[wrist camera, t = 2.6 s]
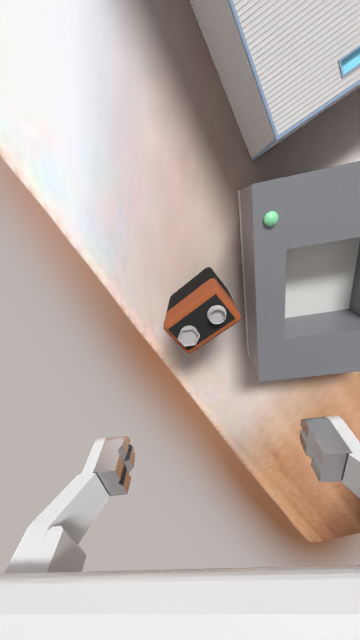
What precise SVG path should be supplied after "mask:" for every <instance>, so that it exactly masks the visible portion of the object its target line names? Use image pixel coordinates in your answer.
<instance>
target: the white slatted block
mask: <svg viewBox="0 0 360 640" xmlns="http://www.w3.org/2000/svg"><path fill="white" fill-rule="evenodd" d="M189 1H190V4H191V6H192V9H193V11H194V14H195V16H196V19H197V22H198V24H199V27H200V29H201V32H202V34H203V37H204V39H205V42H206V45H207V47H208V50H209V52H210V55H211V57H212V60H213V62H214V65H215V67H216V70H217V73H218V75H219V78H220V80H221V83H222V85H223V88H224V90H225V93H226V96H227V98H228V101H229V103H230V106H231V108H232V111H233V113H234V116H235V119H236V121H237V124H238V126H239V129H240V131H241V134H242V136H243V139H244V142H245V144H246V147H247V149H248V152H249V154H250V157H251V159H252V160H251V161H252V162H253V161H254V160H255V159H256V158H257V157H259V156H260V155H262V154H263V153H265V152H266V151H267V150H269V149H270V148H272V147H273V146H275V145H276V144H278V143H279V142H280V141H282V140H283V139H285V138H286V137H288V136H289V135H291V134H292V133H294V132H295V131H296V130H298V129H299V128H301V127H302V126H304V125H305V124H307V123H308V122H309V121H311V120H312V119H314V118H315V117H317V116H318V115H320V114H321V113H322V112H323V111H325V110H327V109H328V108H330V107H331V106H333V105H334V104H336V103H337V102H338V101H340V100H341V99H343V98H344V97H346V96H347V95H349V94H350V93H352V92H353V91H354V90H356V89H357V88H359V87H360V0H189Z"/></svg>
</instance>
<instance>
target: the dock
mask: <svg viewBox="0 0 360 640" xmlns="http://www.w3.org/2000/svg"><path fill="white" fill-rule="evenodd" d="M238 203H239V219H240V236H241V253H242V269H243V286H244V303H245V320H246V336H247V353H248V357H249V360H250V362H251V364H252V367H253V369H254V372H255V374H256V376H257V379H258V381H259V382H266V381H275V380H284V379H293V378H302V377H311V376H320V375H329V374H338V373H348V372H357V371H360V161H357V162H353V163H348V164H343V165H339V166H334V167H329V168H324V169H320V170H315V171H310V172H306V173H301V174H296V175H292V176H287V177H282V178H278V179H273V180H268V181H263V182H259V183H254V184H251V185H249V186H247V187H245V188H243V189H241V190H239V191H238Z"/></svg>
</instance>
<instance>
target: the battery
mask: <svg viewBox="0 0 360 640" xmlns="http://www.w3.org/2000/svg"><path fill="white" fill-rule="evenodd" d="M240 319H241V315H240V313H239V311H238V309H237V307H236V305H235V303H234V301H233V299H232V298H231V296H230V294H229V292H228V290H227V288H226V287H225V286H224V284H223V283H222V282H221V280H220V279H219V278H218V277H217V275H216V274H215V273H214V271H213V270H212V269H211V268H210V267H208V268H206V269H204V270H203V271H202V272H200V273H199V274H198V275H197V276H195V277H194V278H193V279H192V280H190V281H189V282H188V283H187V284H185V285H184V286H183V287H182V288H180V289H179V290H178V291H177V292H175V293H174V294H173V295H172V296H171V297H170V301H169V305H168V310H167V314H166V318H165V322H164V330H165V331H166V332H167V333H168V334H169V335H170V336H171V337H172V338H173V339H174V340H175V341H176V342H177V343H178V344H179V345H180V346H181V347H182V348H183V349H184V350H185V351H186V352H187V353H192V352H193V351H195V350H196V349H198V348H199V347H201V346H202V345H204V344H205V343H207V342H208V341H210V340H211V339H213V338H214V337H216V336H217V335H219V334H220V333H222V332H223V331H225V330H226V329H228V328H229V327H231V326H232V325H234V324H235V323H237V322H238V321H239V320H240Z"/></svg>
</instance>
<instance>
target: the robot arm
mask: <svg viewBox="0 0 360 640" xmlns="http://www.w3.org/2000/svg"><path fill="white" fill-rule="evenodd" d="M301 427H302V428H303V429H302V430H301V431H300V440H301V444H302V447H303V449H304V451H305V453H306V455H307V456H309V457H310V458H311V459H312V463H311V466H312V468H313V470H314V472H315V474H316V476H317V478H318V480H319V482H335V481H342V483H343V484H344V485H345V486H346V487H347V488H349V489H350V490H351V491H352V492H353V493H354V494H355V495H356V496H357V497H358V498H360V442H359V440H358V439H357V438H356V437H355V435H354V434H353V433H352V431H351V430H350V429H349V427H348V426H347V425H346V423H345V422H344V421H343V420H342V418H341V417H339V416H331V417H318V418H309V419H302V420H301ZM129 443H130V439H129V438H128V436H123V437H109V438H98V439H97V440H96V441H95V443H94V445H93V448H92V450H91V452H90V454H89V457H88V460H87V462H86V464H85V467H84V469H83V471H82V474H78V475H77V477H75V479H73V480H72V482H71V483H70V484H69V485H68V486H67V487H66V488H65V489H64V490H63V491H62V492H61V493H60V494H59V495H58V496H57V497H56V498H55V499H54V500H53V502H51V503H50V504H49V505H48V507H47V508H46V509H45V510H44V511H43V512H42V513H41V514H40V515H39V516H38V517H37V518H36V519H35V520H34V521H33V522H32V523H31V524H30V525H29V526H28V528H27V530H26V532H25V534H24V536H23V538H22V540H21V542H20V544H19V546H18V548H17V549H16V551H15V553H14V555H13V557H12V559H11V561H10V563H9V565H8V567H7V569H6V571H5V573H3V574H0V640H360V565H349V566H305V567H261V568H218V569H175V570H131V571H89V572H82V569H83V566H84V562H85V559H86V555H85V552H84V551H83V550H82V549H81V548H80V547H79V546H78V543H79V542H80V541H81V539H82V537H83V536H84V534H85V533H86V532H87V530H88V529H89V527H90V526H91V524H92V523H93V521H94V520H95V518H96V517H97V515H98V514H99V512H100V511H101V509H102V508H103V507H104V505H105V504H106V502H107V501H108V499H109V498H110V496H114V495H124V494H127V493H128V489H129V485H130V480H131V477H130V475H129V472H130V471H131V470H132V468H133V466H134V461H135V460H134V459H135V453H134V449H133V447H132V446H131V445H130V444H129Z"/></svg>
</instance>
